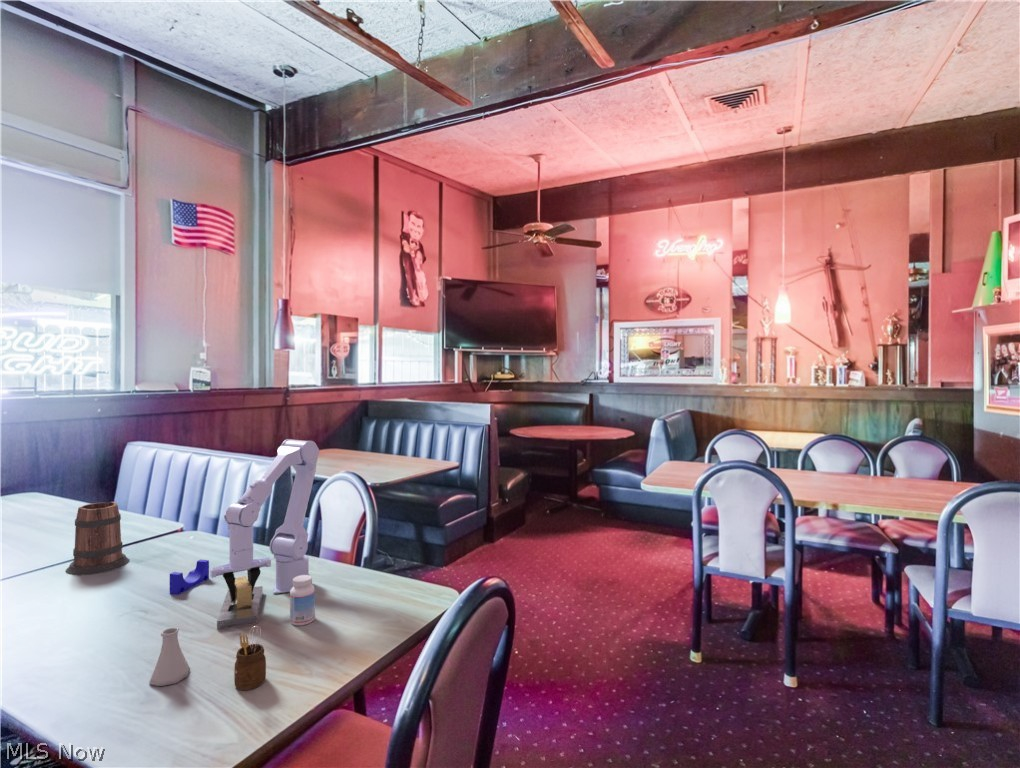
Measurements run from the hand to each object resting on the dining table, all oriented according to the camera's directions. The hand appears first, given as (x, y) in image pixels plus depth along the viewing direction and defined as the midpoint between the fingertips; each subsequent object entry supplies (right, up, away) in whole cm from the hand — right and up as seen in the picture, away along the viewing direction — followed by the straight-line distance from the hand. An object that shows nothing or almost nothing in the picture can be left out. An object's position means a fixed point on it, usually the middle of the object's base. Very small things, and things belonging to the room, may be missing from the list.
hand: (241, 597), depth 145 cm
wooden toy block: (0, -1, 0) cm, 1 cm away
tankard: (-65, -2, +33) cm, 73 cm away
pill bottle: (+19, -4, -6) cm, 20 cm away
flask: (+1, -5, -32) cm, 32 cm away
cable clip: (-24, -3, +16) cm, 29 cm away
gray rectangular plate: (0, -3, 0) cm, 3 cm away
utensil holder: (+19, -5, -33) cm, 39 cm away
